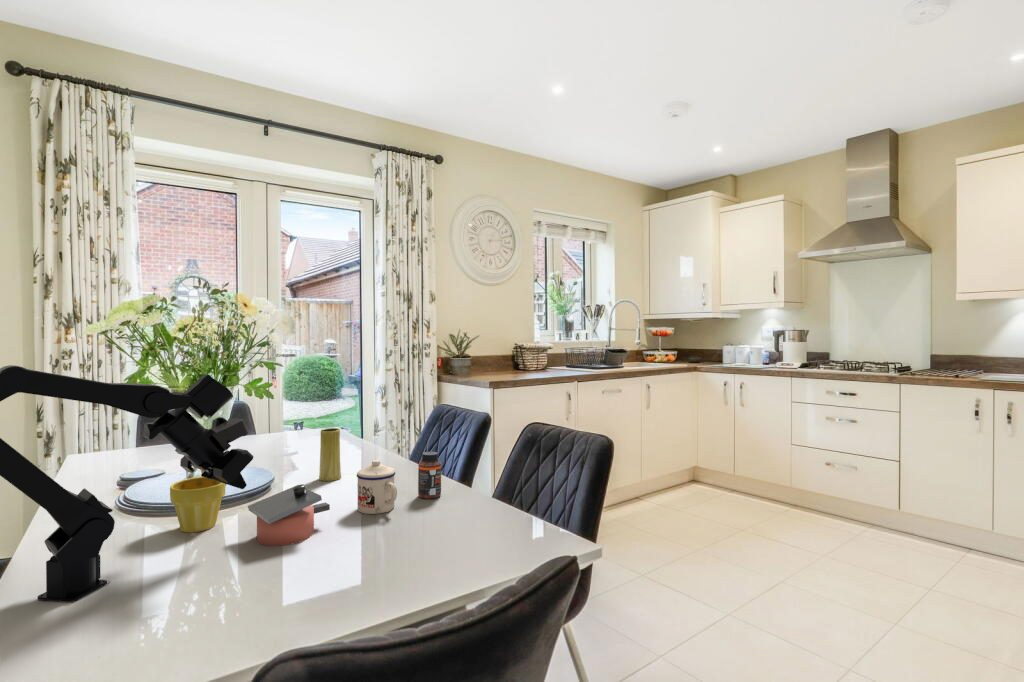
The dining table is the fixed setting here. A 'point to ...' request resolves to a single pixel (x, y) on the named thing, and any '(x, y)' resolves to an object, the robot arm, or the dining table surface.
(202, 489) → the plant pot
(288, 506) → the lid
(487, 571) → the dining table surface
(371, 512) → the teacup with lid
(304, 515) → the cooker pot
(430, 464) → the supplement bottle
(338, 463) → the vase
